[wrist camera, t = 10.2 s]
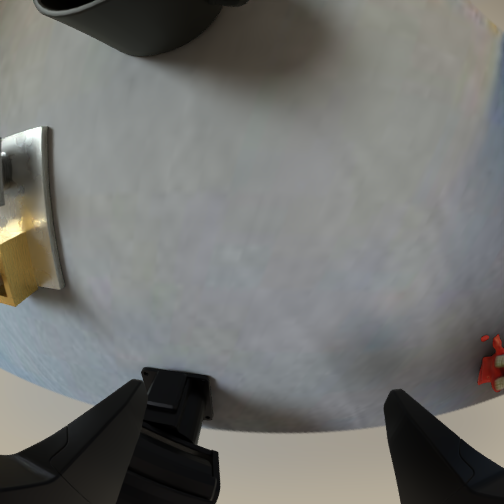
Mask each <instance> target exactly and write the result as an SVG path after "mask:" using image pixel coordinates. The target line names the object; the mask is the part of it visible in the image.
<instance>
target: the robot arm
mask: <svg viewBox="0 0 504 504" xmlns="http://www.w3.org/2000/svg"><path fill="white" fill-rule="evenodd" d="M146 372H147V373H146ZM141 374H142V377H143V381H144V382H143V381H142V380H137V379H132V380H130V381H129V382H127V383H126V384H125V385H123V386H122V387H121V388H119V389H118V390H116V391H115V392H114V393H112V394H111V395H109V396H108V397H107V398H105V399H104V400H102V401H101V402H100V403H98V404H97V405H95V406H94V407H93V408H91V409H90V410H88V411H87V412H85V413H84V414H83V415H81V416H80V417H78V418H77V419H75V420H74V421H73V422H71V423H70V424H68V425H67V426H66V427H64V428H62V429H61V430H59V431H58V432H56V433H55V434H53V435H52V436H50V437H48V438H46V439H44V440H43V441H41V442H39V443H37V444H35V445H33V446H31V447H29V448H27V449H25V450H23V451H21V452H18V453H16V454H12V455H0V504H215V503H216V502H217V499H218V496H219V492H220V473H219V457H218V452H217V451H214V450H209V449H206V448H203V447H200V446H198V445H197V444H198V439H199V435H200V430H201V426H202V422H203V420H212V418H213V410H212V401H211V391H210V380H209V378H208V377H207V376H204V375H196V374H188V373H180V372H173V371H166V370H159V369H153V368H147V367H144V368H143V369H142V371H141ZM203 380H204V381H203ZM384 415H385V423H386V430H387V439H388V444H389V449H390V453H391V458H392V462H393V467H394V471H395V476H396V480H397V486H398V491H399V496H400V502H401V504H504V468H503V467H501V466H499V465H498V464H496V463H495V462H493V461H491V460H490V459H488V458H487V457H485V456H484V455H482V454H481V453H479V452H478V451H476V450H475V449H474V448H472V447H471V446H470V445H468V444H467V443H466V442H465V441H464V440H462V439H460V437H458V436H457V435H456V434H455V433H454V432H453V431H451V430H450V429H449V428H448V427H446V426H445V425H444V424H443V423H442V422H441V421H439V420H438V419H437V418H436V417H435V416H433V415H432V414H431V413H430V412H429V411H427V410H426V409H425V408H424V407H423V406H421V405H420V404H419V403H418V402H417V401H415V400H414V399H413V398H412V397H411V396H410V395H408V394H407V393H406V392H405V391H404V390H402V389H394V390H391V391H390V393H389V395H388V397H387V399H386V401H385V404H384Z"/></svg>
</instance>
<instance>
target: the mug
mask: <svg viewBox="0 0 504 504" xmlns="http://www.w3.org/2000/svg"><path fill="white" fill-rule="evenodd" d="M248 1H249V0H33V2H34V4H35V6H36V8H37V9H38V11H39V12H40V13H42V14H43V15H45V16H48V17H50V18H52V19H55V20H57V21H59V22H62V23H64V24H66V25H68V26H70V27H73V28H75V29H77V30H79V31H81V32H83V33H85V34H87V35H89V36H91V37H93V38H95V39H97V40H99V41H101V42H103V43H105V44H107V45H109V46H111V47H113V48H115V49H117V50H118V51H120V52H123V53H126V54H129V55H135V56H148V55H155V54H160V53H164V52H167V51H170V50H173V49H175V48H178V47H180V46H182V45H184V44H186V43H188V42H189V41H191V40H192V39H194V38H196V37H197V36H198V35H199V34H201V33H202V32H203V31H204V30H205V29H206V28H207V27H208V26H209V25H210V24H211V23H212V22H213V21H214V19H215V18H216V16H217V15H218V14H219V12H220V10H221V8H222V6H230V7H237V6H242V5H244V4H246V3H247V2H248Z"/></svg>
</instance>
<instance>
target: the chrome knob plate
mask: <svg viewBox="0 0 504 504" xmlns="http://www.w3.org/2000/svg"><path fill="white" fill-rule="evenodd" d="M47 129H48V126H41V127H38V128H35V129H31V130H28V131H25V132H22V133H18V134H15V135H12V136H9V137H7V138H4V139H1V138H0V272H1V276H2V279H3V283H4V284H3V285H1V286H0V303H4V304H7V305H11V306H14V307H16V306H17V305H18V304H20V303H21V302H22V301H23V300H25V299H26V298H27V297H28V296H30V295H31V294H32V293H33V292H35V291H36V290H37V289H38V286H40V287H46V288H53V289H59V290H61V289H62V288H63V287H64V286H65V284H64V279H63V275H62V270H61V266H60V261H59V255H58V250H57V244H56V238H55V232H54V225H53V218H52V210H51V200H50V190H49V176H48V150H47Z"/></svg>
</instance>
